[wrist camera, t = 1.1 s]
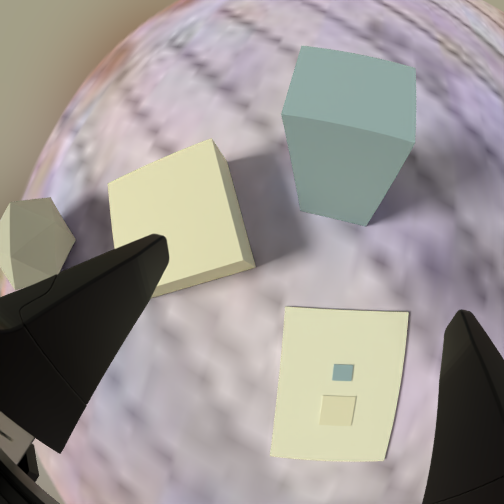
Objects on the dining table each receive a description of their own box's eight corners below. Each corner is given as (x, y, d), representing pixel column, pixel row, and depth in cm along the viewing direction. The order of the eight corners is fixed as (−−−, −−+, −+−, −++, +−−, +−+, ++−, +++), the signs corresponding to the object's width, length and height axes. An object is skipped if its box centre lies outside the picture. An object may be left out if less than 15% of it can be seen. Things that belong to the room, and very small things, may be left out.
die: (70, 194, 29) (-10, 197, 22) (85, 203, 23) (-20, 208, 16) (70, 266, 31) (-6, 273, 24) (86, 294, 25) (-11, 306, 18)
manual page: (383, 459, 18) (383, 461, 18) (270, 455, 20) (269, 456, 20) (407, 311, 20) (409, 312, 19) (285, 306, 22) (285, 306, 21)
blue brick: (365, 226, 21) (415, 142, 9) (300, 210, 22) (281, 114, 10) (374, 177, 22) (415, 68, 10) (311, 163, 23) (301, 45, 11)
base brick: (255, 267, 22) (243, 260, 19) (150, 298, 24) (122, 296, 20) (227, 161, 24) (211, 138, 20) (133, 198, 26) (107, 183, 22)
